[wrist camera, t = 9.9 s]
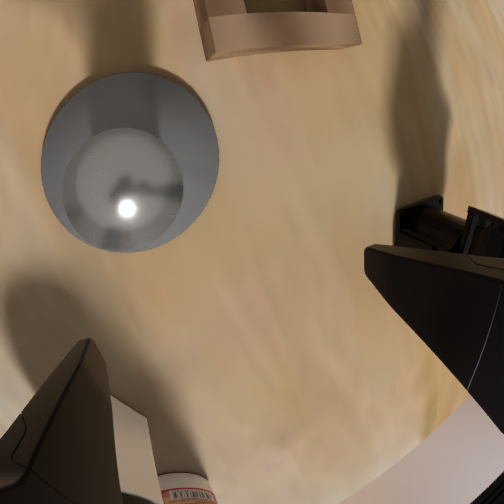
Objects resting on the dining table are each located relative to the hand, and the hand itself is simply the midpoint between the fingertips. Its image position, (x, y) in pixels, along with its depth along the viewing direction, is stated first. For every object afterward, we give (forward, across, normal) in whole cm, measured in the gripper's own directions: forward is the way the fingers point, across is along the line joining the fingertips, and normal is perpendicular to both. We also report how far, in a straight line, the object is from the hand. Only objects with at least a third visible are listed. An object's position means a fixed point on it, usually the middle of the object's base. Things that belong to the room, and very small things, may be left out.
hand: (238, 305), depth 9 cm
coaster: (+12, +3, -4) cm, 13 cm away
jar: (+12, +13, +16) cm, 24 cm away
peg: (+11, +3, -4) cm, 12 cm away
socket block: (+12, -8, -14) cm, 20 cm away
